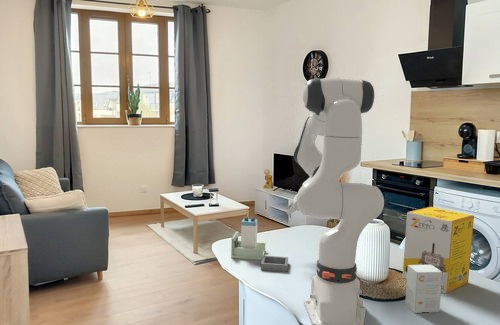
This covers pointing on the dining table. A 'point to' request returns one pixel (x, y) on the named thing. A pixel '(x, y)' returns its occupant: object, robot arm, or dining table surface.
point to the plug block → (249, 233)
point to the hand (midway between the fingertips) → (287, 211)
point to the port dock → (246, 250)
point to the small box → (423, 288)
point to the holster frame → (269, 264)
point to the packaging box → (440, 244)
